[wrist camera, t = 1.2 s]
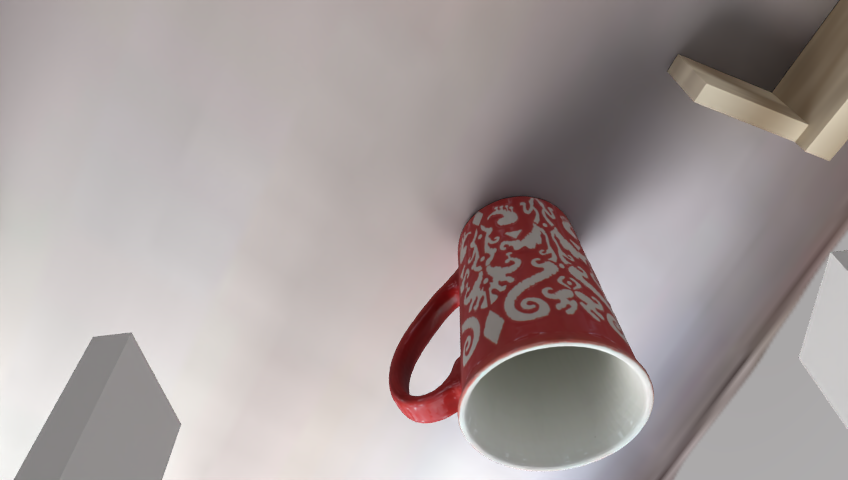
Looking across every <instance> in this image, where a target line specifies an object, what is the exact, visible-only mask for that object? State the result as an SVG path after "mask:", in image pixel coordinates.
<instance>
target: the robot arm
mask: <svg viewBox="0 0 848 480" xmlns="http://www.w3.org/2000/svg"><path fill="white" fill-rule="evenodd" d="M799 359H800V361H801V362H802V364H803V365H804V367H805V368H806V370H807V371H808V373H809V374H810V375H811V377H812V378H813V380H814V381H815V383H816V384H817V386H818V387H819V389H820V390H821V391H822V393H823V394H824V396H825V397H826V399H827V400H828V402H829V403H830V404H831V406H832V407H833V409H834V410H835V412H836V413H837V415H838V416H839V418H840V419H841V421H842V422H843V424H844V425H845V426H846V428H847V429H848V250H844V251H836V252H830V255H829V259H828V262H827V265H826V269H825V272H824V276H823V279H822V282H821V285H820V289H819V292H818V295H817V299H816V302H815V305H814V308H813V312H812V315H811V318H810V322H809V325H808V328H807V332H806V335H805V338H804V342H803V345H802V349H801V351H800V355H799ZM180 426H181V423H180V421H179V419H178V418H177V416H176V414H175V412H174V410H173V408H172V407H171V405H170V403H169V401H168V399H167V397H166V395H165V394H164V392H163V390H162V388H161V386H160V384H159V383H158V381H157V379H156V377H155V375H154V373H153V371H152V370H151V368H150V366H149V364H148V362H147V360H146V358H145V357H144V355H143V353H142V351H141V349H140V347H139V346H138V344H137V342H136V340H135V338H134V336H133V334H132V333H123V334H115V335H106V336H97V337H93V338H92V340H91V342H90V343H89V345H88V347H87V349H86V351H85V352H84V354H83V356H82V358H81V360H80V361H79V363H78V365H77V367H76V369H75V370H74V372H73V374H72V376H71V378H70V379H69V381H68V383H67V385H66V387H65V388H64V390H63V392H62V394H61V396H60V397H59V399H58V401H57V403H56V405H55V406H54V408H53V410H52V412H51V414H50V415H49V417H48V419H47V421H46V423H45V424H44V426H43V428H42V430H41V432H40V433H39V435H38V437H37V439H36V441H35V442H34V444H33V446H32V448H31V450H30V451H29V453H28V455H27V457H26V459H25V460H24V462H23V464H22V466H21V468H20V469H19V471H18V473H17V475H16V477H15V478H14V480H162V478H163V475H164V472H165V469H166V466H167V464H168V461H169V458H170V455H171V452H172V449H173V446H174V443H175V440H176V437H177V434H178V432H179V429H180Z"/></svg>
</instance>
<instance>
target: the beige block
mask: <svg viewBox="0 0 848 480" xmlns="http://www.w3.org/2000/svg"><path fill="white" fill-rule="evenodd" d="M667 72H668V73H669V74H670V75H671V76H672V77H673V79H674V80H675V81H676V82H677V83H678V84H679V85H680V87H681V88H682V89H683V90H684V91H685V92H686V93H687V95H688V96H689V97H690V98H691V99H692V100H693V101H694V102H695V103H697V104H700V105H703V106H705V107H708V108H710V109H713V110H715V111H718V112H720V113H723V114H725V115H728V116H730V117H733V118H735V119H738V120H741V121H743V122H746V123H748V124H751V125H753V126H756V127H758V128H761V129H763V130H766V131H768V132H771V133H773V134H776V135H779V136H781V137H784V138H786V139H789V140H791V141H794V142H796V143H797V144H798V145H799V146H800V147H801V148H802V149H803V150H804V151H805V152H808V153H810V154H813V155H815V156H818V157H820V158H823V159H826V160H828V161H830V160H831V159H832V158H833V156H834V155H835V154H836V153H837V152H838V150H839V149H840V148H841V147H842V146H843V145H844V143H845V142H846V141H847V140H848V0H840V1H839V2H838V3H837V5H836V6H835V7H834V9H833V10H832V12H831V13H830V14H829V16H828V17H827V18H826V20H825V21H824V22H823V24H822V25H821V27H820V28H819V29H818V31H817V32H816V33H815V35H814V36H813V37H812V39H811V40H810V42H809V43H808V44H807V46H806V47H805V48H804V50H803V51H802V52H801V54H800V55H799V56H798V58H797V59H796V61H795V62H794V63H793V65H792V66H791V67H790V69H789V70H788V71H787V73H786V74H785V76H784V77H783V78H782V80H781V81H780V82H779V84H778V85H777V86H776V88H775V89H774V91H773V92H772V93H771V92H769V91H766V90H764V89H762V88H759V87H757V86H754V85H752V84H749V83H747V82H745V81H742V80H740V79H737V78H735V77H732V76H730V75H728V74H725V73H723V72H720V71H718V70H715V69H713V68H711V67H708V66H706V65H703V64H701V63H698V62H696V61H694V60H691V59H689V58H686V57H684V56H681V55H679V54H678V55H677V57H676V58H675V60H674V62H673V63H672V65H671V66H670V68H669V70H668V71H667Z"/></svg>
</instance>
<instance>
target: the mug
mask: <svg viewBox="0 0 848 480" xmlns="http://www.w3.org/2000/svg"><path fill="white" fill-rule="evenodd" d="M458 264H459V267H458V269H457V270H456V271H455V273H454V274H453V275H452V276H451V277H450V278H449V280H448V281H447V282H446V283H445V284H444V285H443V286H442V287H441V288H440V289H439V290H438V291H437V292H436V293H435V294H434V295H433V297H432V298H431V299H430V300H429V301H428V303H427V304H426V305H425V306H424V308H423V309H422V310H421V311H420V313H419V314H418V315H417V317H416V318H415V319H414V321H413V322H412V323H411V325H410V326H409V328H408V329H407V331H406V332H405V334H404V336H403V337H402V339H401V341H400V342H399V344H398V346H397V349H396V351H395V353H394V356H393V359H392V362H391V366H390V372H389V387H390V391H391V395H392V397H393V400H394V401H395V403H396V404H397V406H398V407H399V409H400V410H401V411H402V413H403V414H404V415H406V416H407V417H408V418H409V419H411V420H413V421H415V422H419V423H433V422H437V421H440V420H443V419H446V418H447V417H449V416H451V415H453V414H455V413H456V412H458V421H459V426H460V429H461V431H462V433H463V434H464V436H465V438H466V439H467V441H468V442H469V443H470V444H471V445H472V447H473V448H474V449H475V450H477V451H478V452H479V453H480V454H482V455H483V456H485V457H486V458H488V459H490V460H491V461H494V462H496V463H498V464H501V465H504V466H507V467H511V468H515V469H520V470H526V471H559V470H566V469H571V468H576V467H580V466H584V465H587V464H590V463H593V462H595V461H598V460H600V459H603V458H605V457H607V456H609V455H611V454H613V453H615V452H616V451H618V450H619V449H621V448H622V447H624V446H625V445H626V444H628V443H629V442H630V441H631V440H632V439H633V438H634V437H635V436H636V435H637V434H638V433H639V432H640V431H641V429H642V428H643V427H644V425H645V424H646V422H647V420H648V418H649V416H650V414H651V411H652V407H653V401H654V391H653V386H652V382H651V380H650V378H649V375H648V374H647V372H646V370H645V369H644V368H643V366H642V365H641V364H640V363H639V362H638V361H637V360H636V358H635V356H634V354H633V352H632V350H631V348H630V346H629V344H628V342H627V340H626V338H625V336H624V333H623V331H622V329H621V327H620V325H619V323H618V321H617V319H616V316H615V314H614V313H613V311H612V309H611V306H610V304H609V302H608V301H607V299H606V297H605V294H604V292H603V290H602V288H601V286H600V283H599V281H598V279H597V277H596V275H595V273H594V271H593V269H592V267H591V264H590V262H589V261H588V259H587V257H586V255H585V253H584V251H583V249H582V247H581V245H580V242H579V240H578V238H577V235H576V233H575V231H574V229H573V227H572V225H571V223H570V222H569V220H568V218H567V217H566V215H565V214H564V213H563V212H562V211H561V210H560V209H559V208H557V207H556V206H554V205H553V204H551V203H549V202H547V201H545V200H542V199H538V198H534V197H527V196H518V197H510V198H505V199H501V200H498V201H496V202H493V203H491V204H489V205H487V206H485V207H484V208H482V209H481V210H479V211H478V212H477V213H476V214H475V215H474V216H473V217H472V218H471V219H470V220H469V221H468V222H467V224H466V225H465V227H464V229H463V231H462V233H461V236H460V239H459V245H458ZM459 306H460V344H461V355H460V357H459V358H458V359H457V360H456V361H455V363H454V366H453V368H452V371H451V373H450V375H449V376H448V378H447V379H446V380H445V381H444V382H443V384H442V385H440V386H439V387H438V388H437V389H436V390H434V391H432V392H430V393H428V394H426V395H422V396H411V395H410V394H409V382H410V377H411V374H412V371H413V369H414V366H415V364H416V362H417V360H418V359H419V357H420V355H421V353H422V351H423V350H424V348H425V347H426V345H427V344H428V343H429V341H430V340H431V338H432V337H433V335H434V334H435V333H436V331H437V330H438V329H439V327H440V326H441V325H442V323H443V322H444V321H445V320H446V319H447V317H448V316H449V315H450V314H451V313H452V312H453V311H454V310H455V309H456V308H457V307H459Z"/></svg>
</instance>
